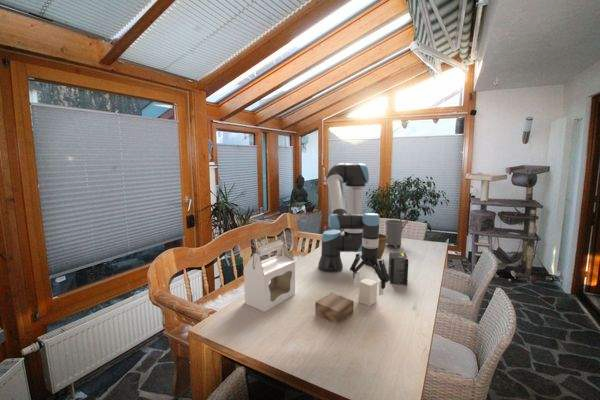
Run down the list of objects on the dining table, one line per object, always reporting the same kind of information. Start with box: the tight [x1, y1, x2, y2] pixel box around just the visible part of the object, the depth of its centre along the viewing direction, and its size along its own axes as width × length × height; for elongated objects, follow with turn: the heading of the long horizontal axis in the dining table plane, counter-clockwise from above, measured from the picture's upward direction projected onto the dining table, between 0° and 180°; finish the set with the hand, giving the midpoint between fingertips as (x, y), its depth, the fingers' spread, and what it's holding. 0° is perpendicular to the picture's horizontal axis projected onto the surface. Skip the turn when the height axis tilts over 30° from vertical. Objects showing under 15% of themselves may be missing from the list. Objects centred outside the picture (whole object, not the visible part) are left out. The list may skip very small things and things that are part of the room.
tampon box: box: [387, 252, 409, 286], centre depth 161 cm, size 11×9×15 cm
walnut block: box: [314, 292, 355, 325], centre depth 126 cm, size 12×12×6 cm
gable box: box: [243, 239, 296, 313], centre depth 138 cm, size 22×13×28 cm, turn 142°
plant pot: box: [378, 233, 387, 260], centre depth 196 cm, size 15×15×16 cm
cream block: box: [358, 277, 378, 307], centre depth 137 cm, size 6×6×10 cm
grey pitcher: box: [385, 215, 410, 250], centre depth 223 cm, size 19×15×25 cm
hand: (368, 290), depth 137 cm, fingers open, 13 cm apart
